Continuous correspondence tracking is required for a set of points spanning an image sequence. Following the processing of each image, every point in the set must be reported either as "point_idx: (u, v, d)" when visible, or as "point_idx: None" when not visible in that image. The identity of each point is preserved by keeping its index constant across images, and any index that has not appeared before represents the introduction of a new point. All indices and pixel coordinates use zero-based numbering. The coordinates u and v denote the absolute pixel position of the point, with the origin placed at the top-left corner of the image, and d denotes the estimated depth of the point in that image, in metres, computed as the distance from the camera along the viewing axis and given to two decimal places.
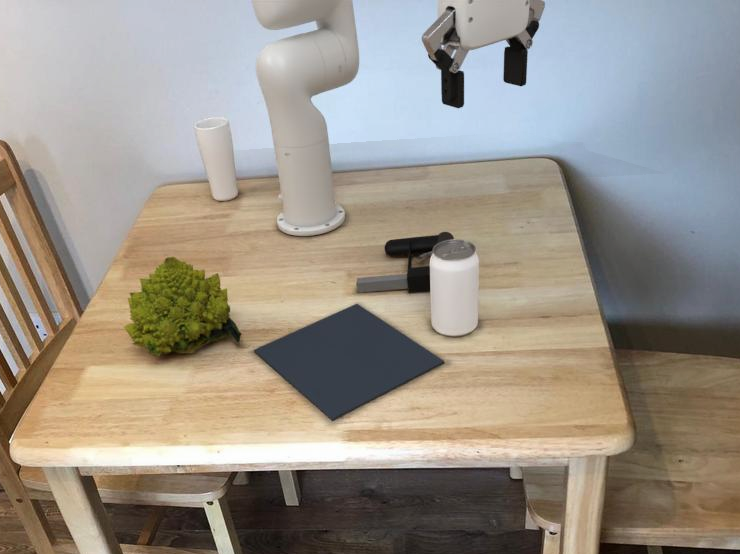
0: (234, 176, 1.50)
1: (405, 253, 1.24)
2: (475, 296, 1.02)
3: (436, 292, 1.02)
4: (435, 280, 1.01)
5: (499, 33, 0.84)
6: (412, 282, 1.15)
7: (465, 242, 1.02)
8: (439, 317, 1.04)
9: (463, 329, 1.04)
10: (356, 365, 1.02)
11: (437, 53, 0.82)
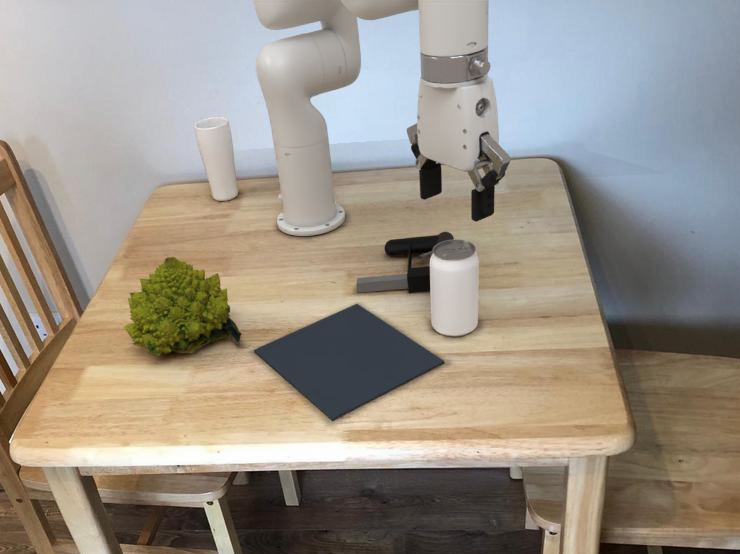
0: (234, 176, 1.50)
1: (405, 253, 1.24)
2: (475, 296, 1.02)
3: (436, 292, 1.02)
4: (435, 280, 1.01)
5: (442, 158, 0.91)
6: (412, 282, 1.15)
7: (465, 242, 1.02)
8: (439, 317, 1.04)
9: (463, 329, 1.04)
10: (356, 365, 1.02)
11: (412, 145, 0.98)
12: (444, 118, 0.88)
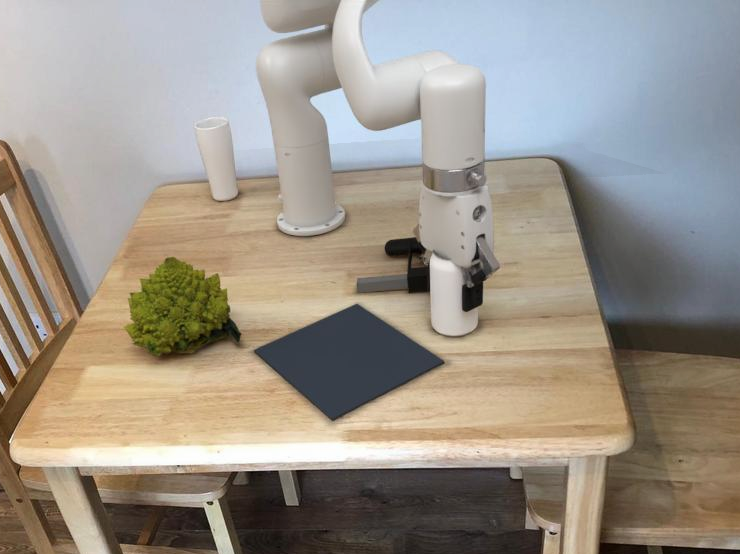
0: (234, 176, 1.50)
1: (405, 253, 1.24)
2: None
3: (436, 292, 1.02)
4: (435, 280, 1.01)
5: (442, 252, 0.99)
6: (412, 282, 1.15)
7: None
8: (439, 317, 1.04)
9: (463, 329, 1.04)
10: (356, 365, 1.02)
11: (419, 243, 1.05)
12: (444, 220, 0.95)
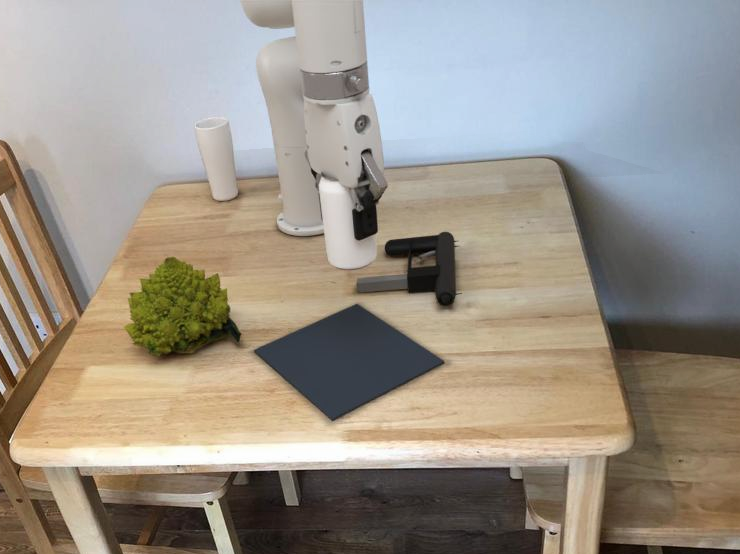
0: (234, 176, 1.50)
1: (405, 253, 1.24)
2: None
3: (327, 219, 0.93)
4: (324, 206, 0.92)
5: (329, 173, 0.90)
6: (412, 282, 1.15)
7: None
8: (332, 248, 0.95)
9: (358, 261, 0.95)
10: (356, 365, 1.02)
11: (311, 168, 0.96)
12: (326, 134, 0.86)
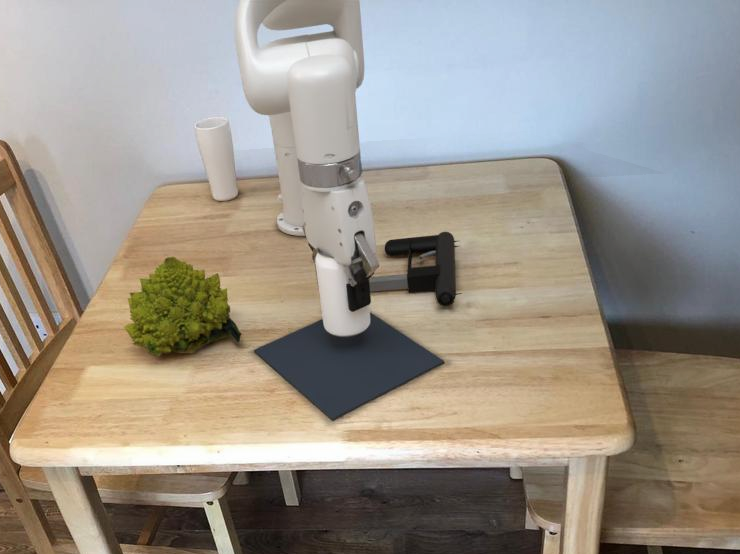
0: (234, 176, 1.50)
1: (405, 253, 1.24)
2: None
3: (322, 291, 0.99)
4: (320, 279, 0.98)
5: (325, 250, 0.96)
6: (412, 282, 1.15)
7: None
8: (327, 317, 1.01)
9: (352, 329, 1.01)
10: (356, 365, 1.02)
11: None
12: (322, 216, 0.92)
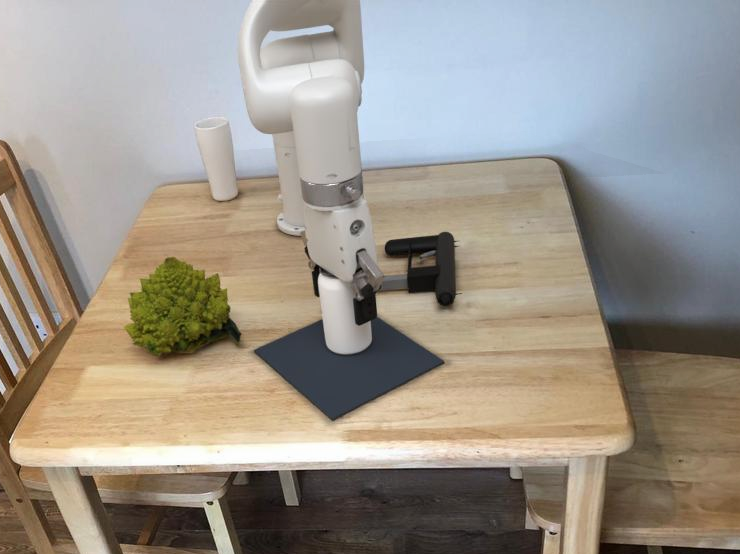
0: (234, 176, 1.50)
1: (405, 253, 1.24)
2: None
3: (325, 310, 1.01)
4: (323, 299, 1.00)
5: (327, 267, 0.97)
6: (412, 282, 1.15)
7: None
8: (330, 335, 1.03)
9: (354, 347, 1.03)
10: (356, 365, 1.02)
11: (305, 247, 1.04)
12: (324, 234, 0.94)
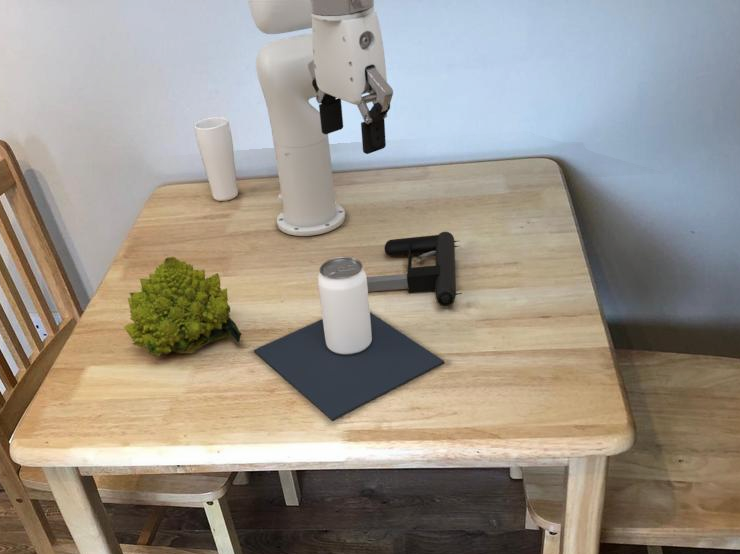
0: (234, 176, 1.50)
1: (405, 253, 1.24)
2: (365, 314, 1.01)
3: (325, 310, 1.01)
4: (323, 299, 1.00)
5: (335, 91, 0.95)
6: (412, 282, 1.15)
7: (354, 260, 1.00)
8: (330, 335, 1.03)
9: (354, 347, 1.03)
10: (356, 365, 1.02)
11: (313, 80, 1.01)
12: (333, 51, 0.91)
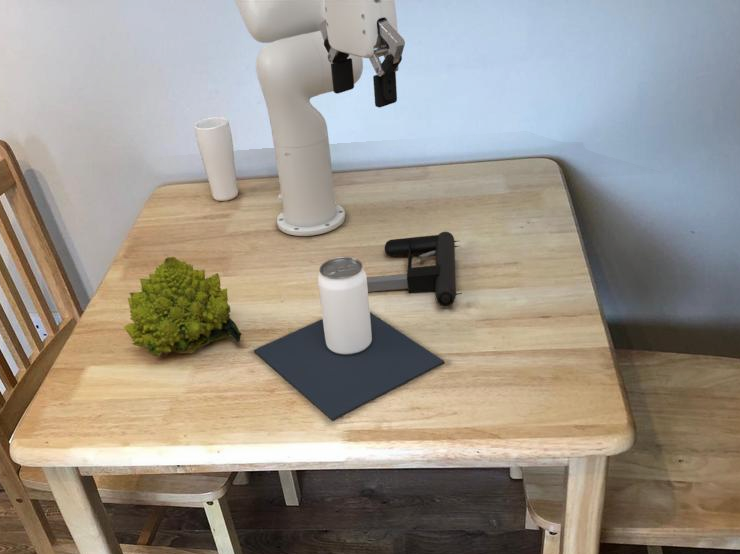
0: (234, 176, 1.50)
1: (405, 253, 1.24)
2: (365, 314, 1.01)
3: (325, 310, 1.01)
4: (323, 299, 1.00)
5: (347, 47, 0.98)
6: (412, 282, 1.15)
7: (354, 260, 1.00)
8: (330, 335, 1.03)
9: (354, 347, 1.03)
10: (356, 365, 1.02)
11: None
12: (345, 5, 0.94)
